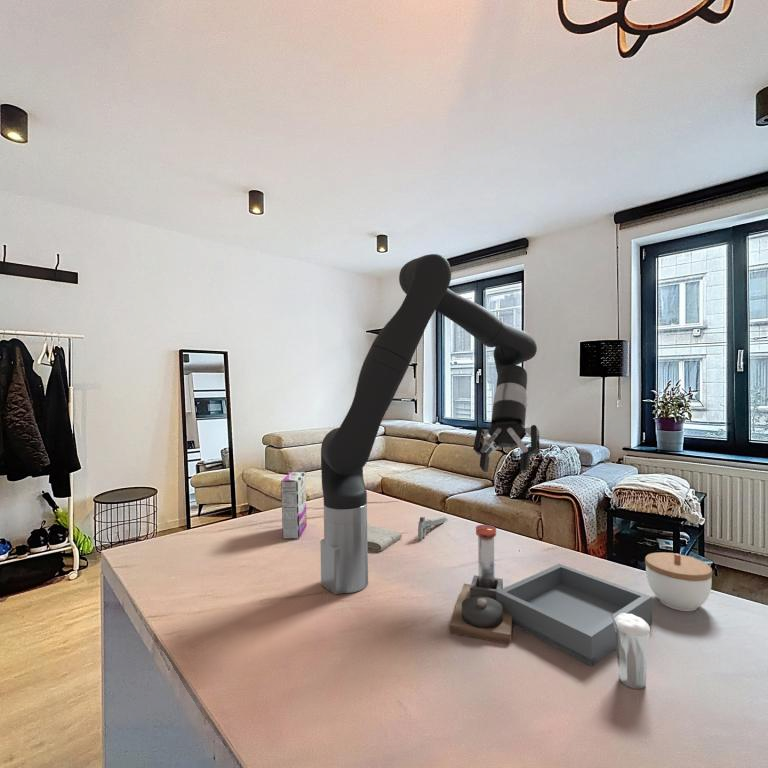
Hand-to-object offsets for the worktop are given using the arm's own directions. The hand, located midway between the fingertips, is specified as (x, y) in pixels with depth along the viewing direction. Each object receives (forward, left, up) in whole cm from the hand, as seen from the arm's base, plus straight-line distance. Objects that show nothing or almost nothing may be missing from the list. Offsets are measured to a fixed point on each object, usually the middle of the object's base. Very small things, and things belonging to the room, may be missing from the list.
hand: (503, 471), depth 96 cm
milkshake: (-13, -32, -24) cm, 42 cm away
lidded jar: (+17, -27, -24) cm, 40 cm away
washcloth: (-11, +39, -24) cm, 47 cm away
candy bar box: (-24, +56, -24) cm, 65 cm away
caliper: (+9, +33, -24) cm, 42 cm away
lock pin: (-12, -5, -22) cm, 25 cm away
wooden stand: (-15, -7, -23) cm, 29 cm away
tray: (-4, -18, -23) cm, 30 cm away
